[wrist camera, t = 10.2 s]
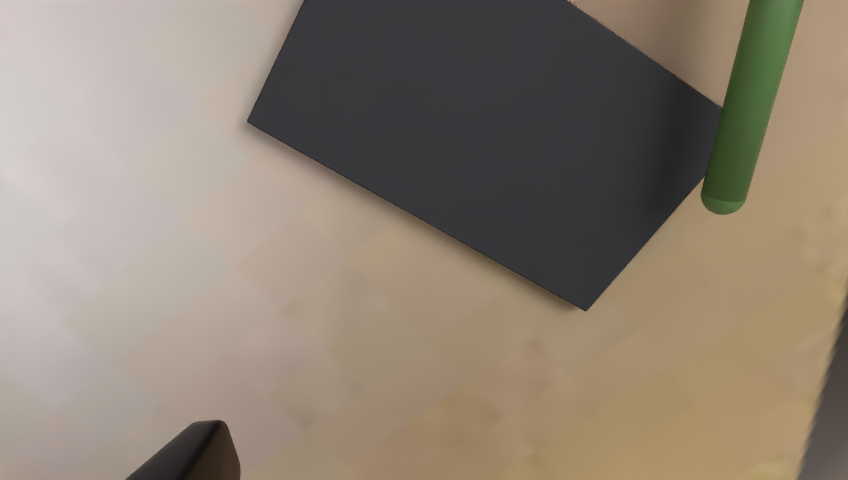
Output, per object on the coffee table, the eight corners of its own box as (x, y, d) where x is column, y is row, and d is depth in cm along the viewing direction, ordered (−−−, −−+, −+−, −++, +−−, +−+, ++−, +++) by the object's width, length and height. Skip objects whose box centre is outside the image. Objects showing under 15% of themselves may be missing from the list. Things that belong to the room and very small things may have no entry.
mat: (741, 122, 14) (749, 126, 13) (583, 304, 16) (586, 312, 16) (371, -135, 12) (368, -138, 11) (250, 118, 14) (245, 122, 14)
